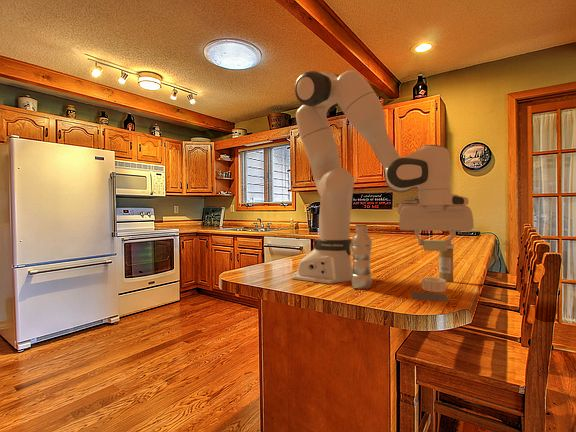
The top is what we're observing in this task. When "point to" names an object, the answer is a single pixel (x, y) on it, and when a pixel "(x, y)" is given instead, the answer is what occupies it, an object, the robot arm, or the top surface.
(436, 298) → the mat
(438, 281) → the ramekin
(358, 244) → the plastic bottle
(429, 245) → the cover
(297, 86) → the robot arm
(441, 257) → the sprinkles bottle
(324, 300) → the top surface
